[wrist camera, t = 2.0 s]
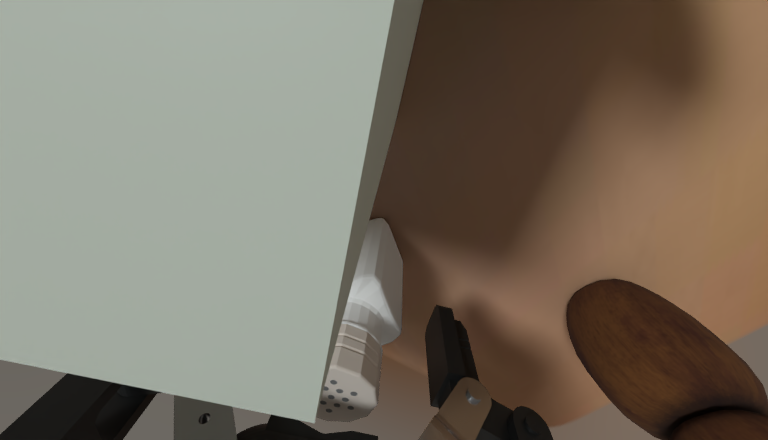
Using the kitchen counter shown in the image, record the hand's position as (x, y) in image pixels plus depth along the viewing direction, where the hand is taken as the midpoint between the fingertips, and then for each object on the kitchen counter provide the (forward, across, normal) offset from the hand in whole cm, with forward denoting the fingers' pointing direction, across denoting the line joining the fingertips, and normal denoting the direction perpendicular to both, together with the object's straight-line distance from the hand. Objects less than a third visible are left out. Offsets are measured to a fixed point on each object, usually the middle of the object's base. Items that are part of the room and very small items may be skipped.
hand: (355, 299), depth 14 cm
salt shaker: (+5, 0, 0) cm, 5 cm away
